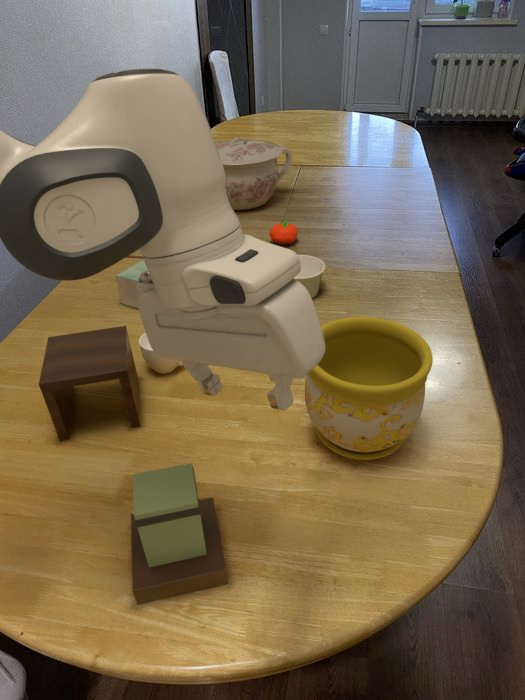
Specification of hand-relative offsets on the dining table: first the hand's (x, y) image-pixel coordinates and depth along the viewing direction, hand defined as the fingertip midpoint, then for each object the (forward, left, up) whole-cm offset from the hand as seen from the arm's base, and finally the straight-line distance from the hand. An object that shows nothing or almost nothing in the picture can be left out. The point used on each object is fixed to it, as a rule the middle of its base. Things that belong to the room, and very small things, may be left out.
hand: (246, 398), depth 52 cm
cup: (+24, +35, -26) cm, 50 cm away
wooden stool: (+9, +38, -26) cm, 47 cm away
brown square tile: (-6, +8, -26) cm, 28 cm away
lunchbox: (-6, +8, -23) cm, 25 cm away
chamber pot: (+105, +73, -26) cm, 131 cm away
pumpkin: (+84, +45, -26) cm, 99 cm away
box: (+44, +58, -26) cm, 78 cm away
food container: (+62, +28, -26) cm, 73 cm away
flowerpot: (+26, -3, -26) cm, 37 cm away
